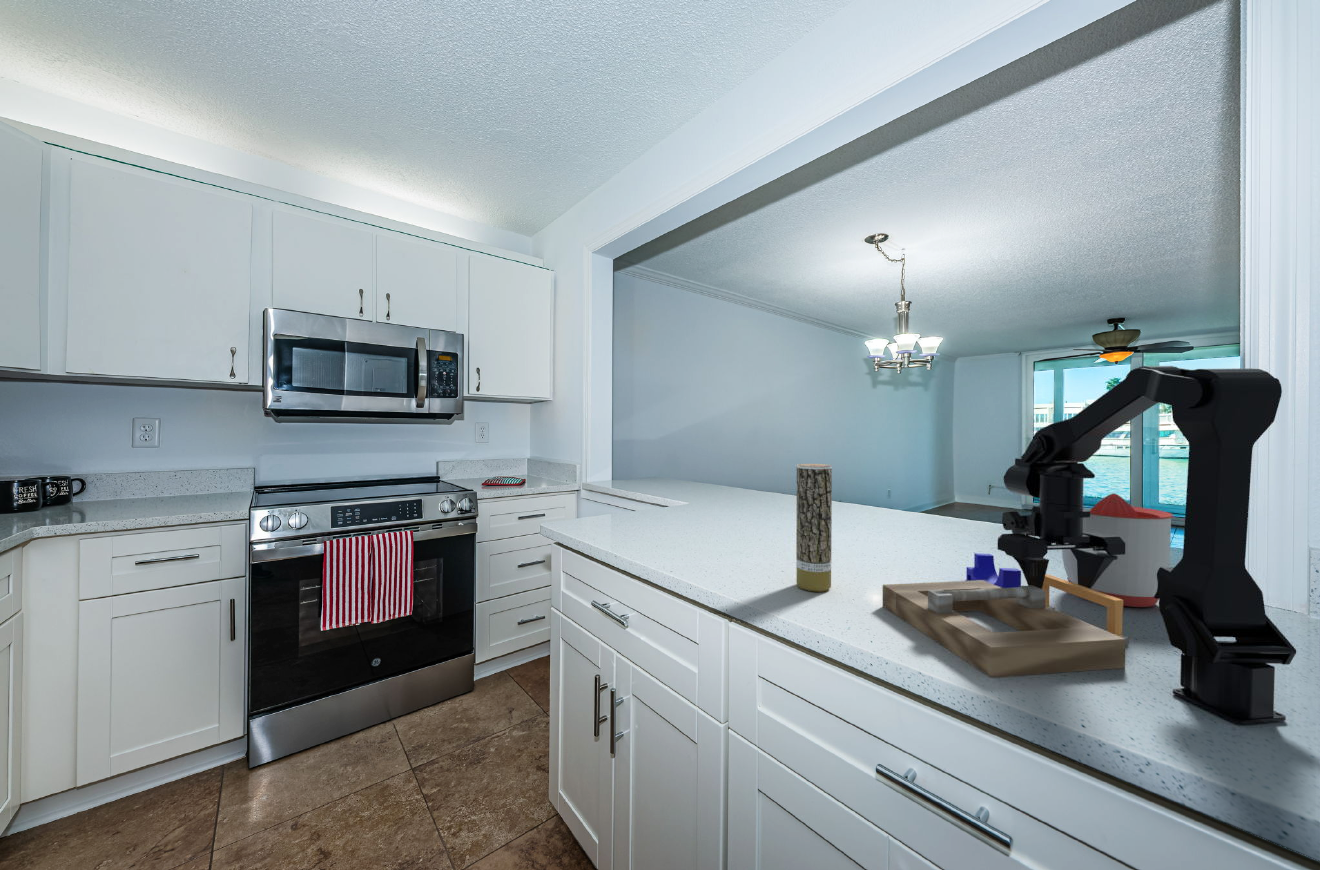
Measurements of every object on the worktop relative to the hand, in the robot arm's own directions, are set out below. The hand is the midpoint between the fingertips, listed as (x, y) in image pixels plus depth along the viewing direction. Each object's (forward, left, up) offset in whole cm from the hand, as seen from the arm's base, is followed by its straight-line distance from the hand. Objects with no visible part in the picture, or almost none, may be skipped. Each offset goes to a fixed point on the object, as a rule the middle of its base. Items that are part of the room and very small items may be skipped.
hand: (1059, 594), depth 82 cm
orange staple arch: (-3, 0, -4) cm, 5 cm away
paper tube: (+21, +34, -5) cm, 40 cm away
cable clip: (+15, -1, -5) cm, 16 cm away
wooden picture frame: (-3, +16, -4) cm, 17 cm away
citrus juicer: (+9, -20, -5) cm, 22 cm away
